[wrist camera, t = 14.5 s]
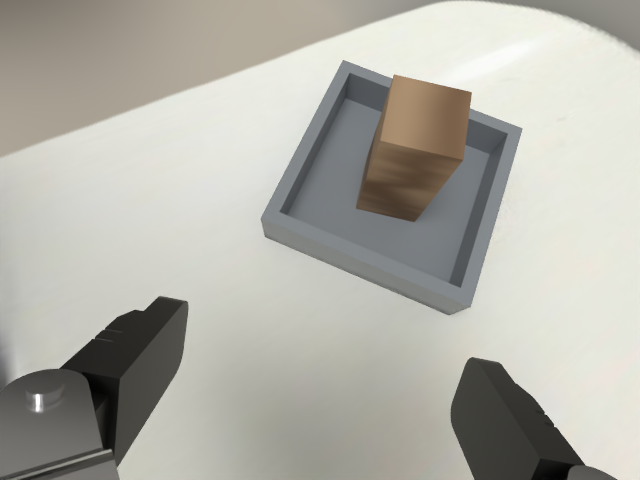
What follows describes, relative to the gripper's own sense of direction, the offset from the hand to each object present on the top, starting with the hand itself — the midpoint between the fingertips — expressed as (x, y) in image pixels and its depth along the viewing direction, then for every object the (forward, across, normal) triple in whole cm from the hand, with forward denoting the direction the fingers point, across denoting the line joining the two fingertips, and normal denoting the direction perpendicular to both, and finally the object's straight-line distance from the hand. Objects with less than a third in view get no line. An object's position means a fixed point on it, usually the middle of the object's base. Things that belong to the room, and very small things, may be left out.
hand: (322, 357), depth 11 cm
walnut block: (+24, -5, -2) cm, 24 cm away
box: (+24, -5, -2) cm, 25 cm away
